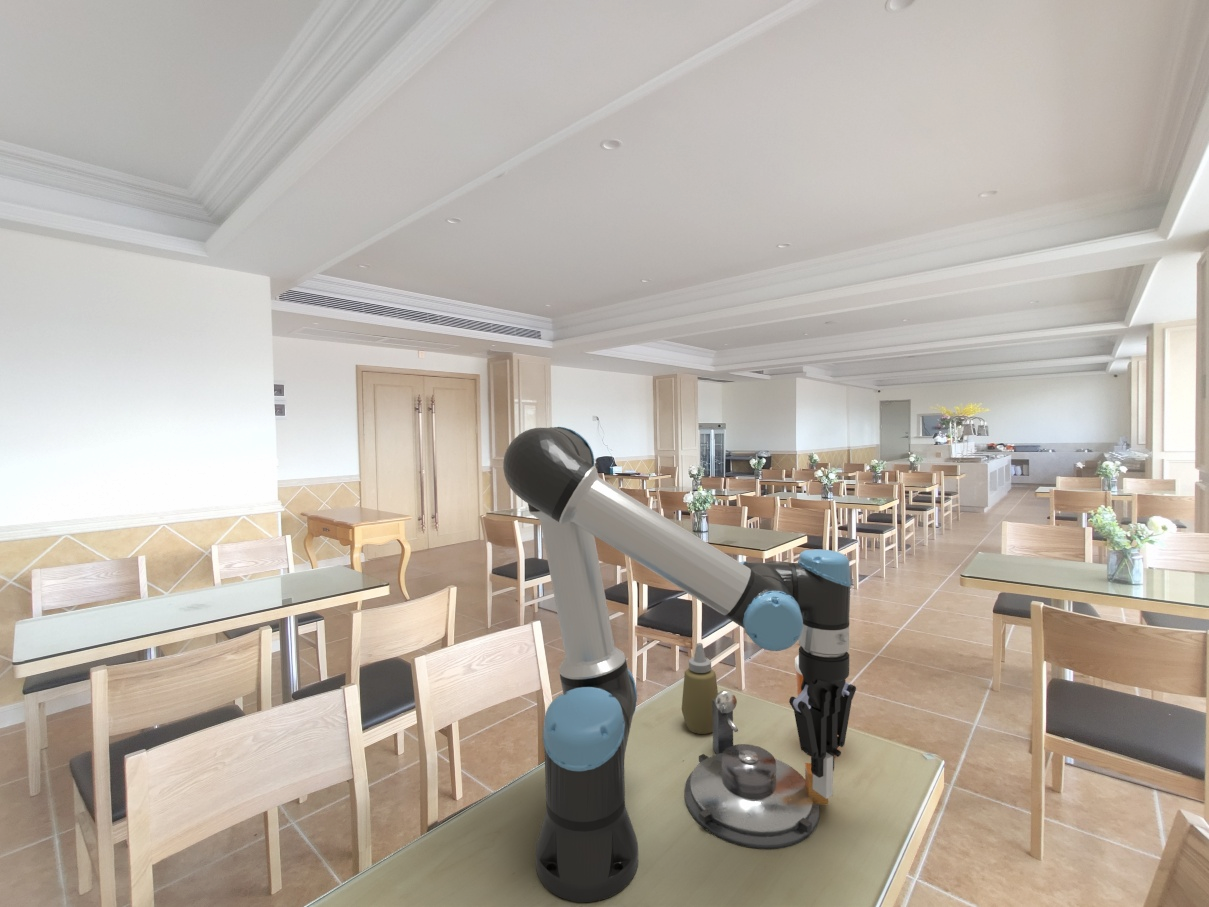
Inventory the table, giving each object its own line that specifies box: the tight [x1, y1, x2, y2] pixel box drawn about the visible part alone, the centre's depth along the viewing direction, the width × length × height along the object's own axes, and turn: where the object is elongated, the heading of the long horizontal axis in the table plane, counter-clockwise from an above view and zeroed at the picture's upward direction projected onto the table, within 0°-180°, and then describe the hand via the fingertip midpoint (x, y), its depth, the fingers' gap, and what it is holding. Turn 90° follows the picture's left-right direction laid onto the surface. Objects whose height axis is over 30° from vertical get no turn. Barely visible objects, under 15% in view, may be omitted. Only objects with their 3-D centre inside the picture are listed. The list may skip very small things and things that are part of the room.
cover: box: [722, 743, 776, 799], centre depth 95 cm, size 9×9×5 cm
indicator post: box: [712, 689, 739, 755], centre depth 106 cm, size 4×8×13 cm, turn 10°
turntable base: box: [684, 769, 820, 850], centre depth 94 cm, size 22×22×1 cm
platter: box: [690, 753, 829, 836], centre depth 94 cm, size 20×22×5 cm
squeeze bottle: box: [681, 642, 719, 735], centre depth 117 cm, size 8×8×18 cm
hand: (822, 792), depth 89 cm, fingers closed
